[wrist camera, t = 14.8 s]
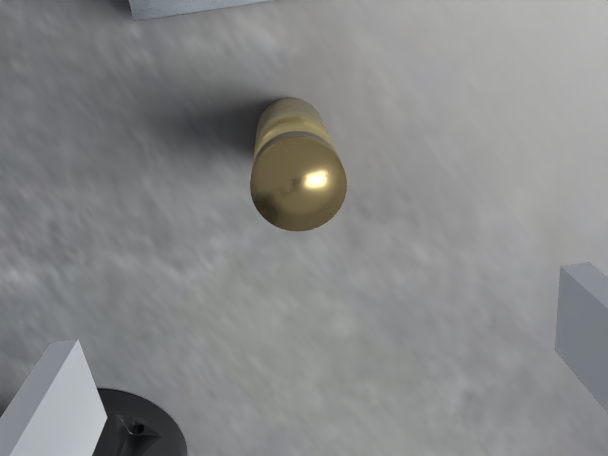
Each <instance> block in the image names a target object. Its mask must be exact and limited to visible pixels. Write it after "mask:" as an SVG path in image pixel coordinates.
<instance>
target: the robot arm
mask: <svg viewBox="0 0 608 456" xmlns="http://www.w3.org/2000/svg"><path fill="white" fill-rule="evenodd" d="M555 351H556V352H557V353H558V354H559V355H560V357H561V358H562V359H563V360H564V361H565V363H566V364H567V365H568V366H569V367H570V369H571V370H572V371H573V372H574V374H575V375H576V376H577V377H578V378H579V380H580V381H581V382H582V383H583V384H584V386H585V387H586V388H587V389H588V390H589V392H590V393H591V394H592V395H593V396H594V398H595V399H596V400H597V401H598V402H599V404H600V405H601V406H602V407H603V409H604V410H605V411H606V412H607V413H608V277H607V276H605V275H604V274H603V273H602V272H600V271H599V270H598V269H597V268H595V267H594V266H593V265H592V264H590V263H589V262H586V263H579V264H572V265H566V266H560V281H559V296H558V311H557V327H556V342H555ZM0 456H187V446H186V442H185V439H184V436H183V434H182V432H181V430H180V428H179V427H178V425H177V424H176V423H175V422H174V420H173V419H172V418H171V417H170V416H169V415H168V414H167V413H166V412H164V411H163V410H162V409H160V408H159V407H157V406H156V405H154V404H152V403H151V402H149V401H147V400H145V399H142V398H140V397H137V396H135V395H131V394H128V393H124V392H119V391H112V390H97V388H96V386H95V383H94V380H93V378H92V375H91V372H90V370H89V367H88V364H87V362H86V359H85V356H84V354H83V351H82V348H81V346H80V343H79V340H78V339H74V340H68V341H61V342H55V343H50V344H49V345H48V347H47V348H46V350H45V351H44V353H43V354H42V356H41V357H40V359H39V360H38V362H37V363H36V365H35V366H34V368H33V369H32V371H31V372H30V374H29V375H28V377H27V378H26V380H25V381H24V383H23V385H22V386H21V388H20V389H19V391H18V392H17V394H16V395H15V397H14V398H13V400H12V401H11V403H10V404H9V406H8V407H7V409H6V410H5V412H4V413H3V415H2V416H1V418H0Z"/></svg>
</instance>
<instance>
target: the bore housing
mask: <svg viewBox="0 0 608 456" xmlns="http://www.w3.org/2000/svg"><path fill="white" fill-rule="evenodd" d="M270 1H276V0H129V3H130V7H131V11H132V15H133V19H134V21H137V20H148V19H157V18H164V17H171V16H177V15H184V14H190V13H197V12H204V11H210V10H217V9H223V8H230V7H237V6H243V5H250V4H256V3H263V2H270Z"/></svg>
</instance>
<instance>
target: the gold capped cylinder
mask: <svg viewBox="0 0 608 456" xmlns="http://www.w3.org/2000/svg"><path fill="white" fill-rule="evenodd" d="M346 188H347V182H346V175H345V171H344V168H343V166H342V164H341V162H340V159H339V157H338V155H337V153H336V150H335V148H334V146H333V144H332V141H331V139H330V137H329V135H328V133H327V130H326V128H325V126H324V124H323V121H322V119H321V117H320V115H319V113H318V112H317V111H316V109H315V108H314V107H313V106H312V105H310V104H309V103H307V102H305V101H303V100H300V99H296V98H285V99H280V100H278V101H275V102H274V103H272V104H271V105H269V106H268V107H267V108H266V109H265V110H264V111H263V113H262V115H261V116H260V119H259V121H258V126H257V133H256V141H255V149H254V158H253V166H252V174H251V182H250V189H251V196H252V200H253V202H254V205H255V207H256V208H257V210H258V211H259V213H260V214H261V215H262V216H263V217H264V218H265V219H266V220H267V221H268V222H270V223H271V224H273V225H275V226H277V227H279V228H281V229H285V230H289V231H306V230H311V229H314V228H317V227H319V226H321V225H323V224H325V223H326V222H328V221H329V220H330V219H331V218H332V217H333V216H334V215H335V214H336V213H337V212H338V210H339V209H340V207H341V205H342V203H343V201H344V198H345V194H346Z"/></svg>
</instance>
